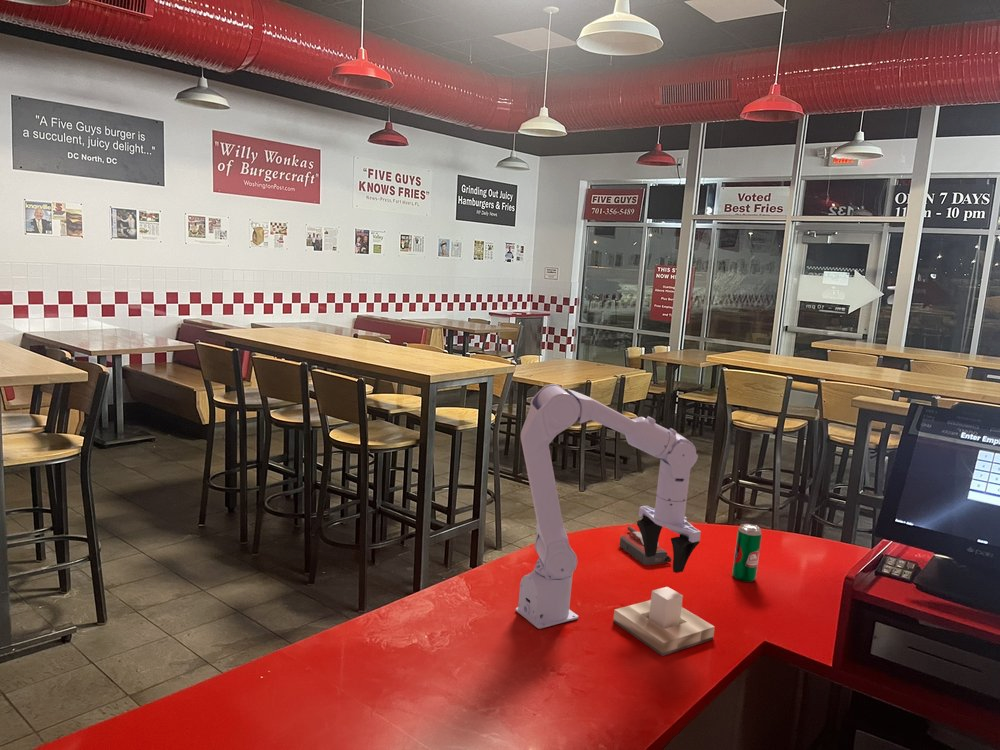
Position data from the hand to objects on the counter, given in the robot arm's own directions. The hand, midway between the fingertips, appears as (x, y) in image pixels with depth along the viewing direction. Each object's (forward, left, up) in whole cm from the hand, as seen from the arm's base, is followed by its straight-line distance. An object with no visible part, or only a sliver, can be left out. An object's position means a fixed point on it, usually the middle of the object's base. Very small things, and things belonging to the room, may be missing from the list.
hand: (663, 563), depth 140 cm
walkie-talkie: (+19, +26, -11) cm, 34 cm away
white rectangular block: (-4, -5, -10) cm, 12 cm away
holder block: (-4, -5, -10) cm, 12 cm away
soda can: (+30, +4, -11) cm, 32 cm away
